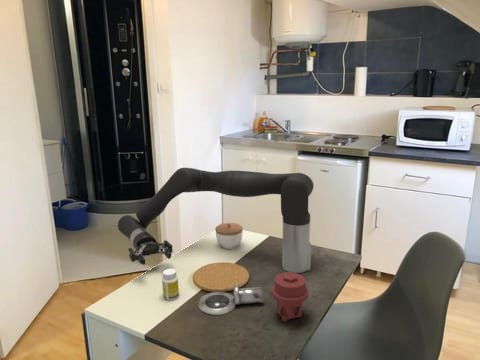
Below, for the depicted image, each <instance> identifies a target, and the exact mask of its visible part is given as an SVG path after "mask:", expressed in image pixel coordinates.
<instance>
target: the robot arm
mask: <svg viewBox="0 0 480 360" xmlns="http://www.w3.org/2000/svg"><path fill="white" fill-rule="evenodd" d="M313 191H314V182H313V180H312V178H311V177H310V176H309V175H307V174H305V173H303V172H293V173H291V172H290V173H289V172H288V173H269V172H258V171H248V170H223V171H208V170H202V169H197V168H192V167H181V168H178V169H177V170H176V171H174V172H173V174H172V175H171V176H170V177H169V179H168V180H167V181H166V182H165V184H163V186H162V187H161V188H160V189H159V190H158V191H157V192H156V193H155V194H154V195H153V196H152V197H151V198H150V199H148V200H147V201H146V202H145V203H144V204H143V205H141V207H139V208H138V209H137V211H136V212H135V216H136V217H137V219H136V218H135V217H133V216H132V215H129V214H125V215H122V217H120V219H119V220H118V222H117V229H118V230H119V232H120V233H122V235H124V236H125V237H126V238H128V240H129V242H130V243H131V245H132V247H133V248H134V249H133V248H132V247H129V248H128V250H127V251H128V257H129V259H130V261H131V262H132V263H134V262H136V261H137V262H139V264H140V265H143V266H146V257H147V256H152V255H158V256H162V255H164V256H165V257H166V258H167V259H168V260H171V257H172V253H173V252H174V251H173V244H172V243H170V242H169V241H168V240H163V243H160V242H158V241H157V240H156V238H155V237H154V236H153V235H152V234H151V232H150V231H148V230H147V228H148V227H149V225H150V224H151V223H152V222H153V221H154V220H156V218H158V217H159V216H160V215H161V214H162V213H163V212H164V211H165V210H166V207H168V205H169V203H170V202H171V201H172V200H174V199H175V198H176V197H178V196H180V195H182V194H183V193H196V192H214V193H219V194H221V195H226V196H230V197H239V198H254V197H260V196H266V195H280V212H281V216H282V249H281V250H282V253H281V255H282V261H281V263H282V265H281V267H282V269H283V270H284V271H286V272H292V273H297V274H300V273H304V272H307V271H311V267H312V266H311V263H312V262H311V260H312V257H311V256H312V244H311V241H310V239H311V238H310V236H311V235H310V234H311V231H310V230H311V213H310V212H309V197H310V195H312V193H313Z"/></svg>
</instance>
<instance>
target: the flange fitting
mask: <svg viewBox="0 0 480 360" xmlns="http://www.w3.org/2000/svg"><path fill="white" fill-rule="evenodd" d="M258 303H259V304H260V303H261V304H262V303H264V290H263V287H262V286H258V287H257V286H256V287H255V286H254V287H244V288H242V287H241V288H239V284H233V295H232V294H231V293H228V292H225V291H214V292H213V291H212V292H209V293H206V294H205V295H203V296H201V298H200V299H199V300H198V309H199V311H201V312H202V313H203V314H206V315H209V314H210V315H211V316H223V315H225V314H229V313H230V312H232V311H233V310H234V309H235V308H236V305H238V306H239V305H247V304H258Z"/></svg>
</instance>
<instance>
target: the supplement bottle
mask: <svg viewBox="0 0 480 360" xmlns="http://www.w3.org/2000/svg"><path fill="white" fill-rule="evenodd" d="M161 278H162V279H161V282H162V295H163V299H164V300H166V301H173V300H177V299H178V298H179V296H180V290H179V277H178V275H177V271H176V269H174V268H166V269H165V270H163V271H162V277H161Z"/></svg>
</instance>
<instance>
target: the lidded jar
mask: <svg viewBox="0 0 480 360" xmlns="http://www.w3.org/2000/svg"><path fill="white" fill-rule="evenodd" d="M214 229H215V236H216V241H217V242H218V243H217V244H219V245H220V246H221V247H222V248H223V249H227V250H232V249H236V248H237V247H238V246H239V245H240V244H241V241H242V239H243V226H242V225H241V224H239V223H237V222H236V223H235V222H225V223H220V224H218V225H217V226H216V227H215V228H214Z"/></svg>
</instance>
